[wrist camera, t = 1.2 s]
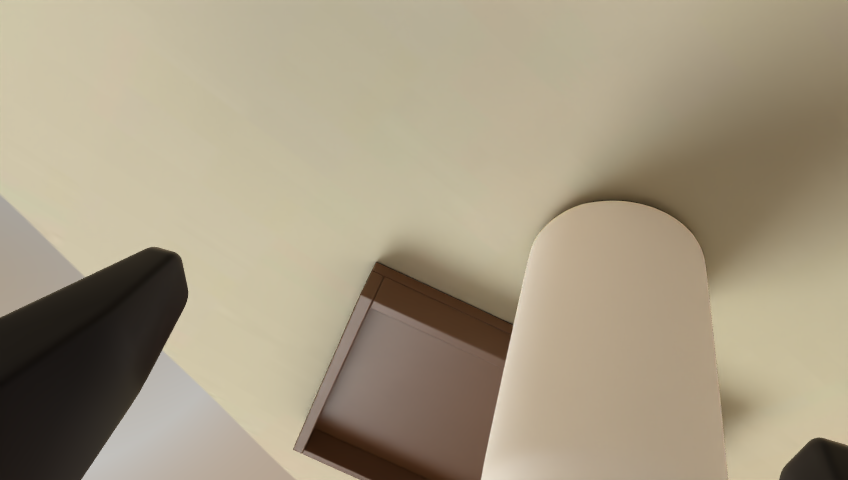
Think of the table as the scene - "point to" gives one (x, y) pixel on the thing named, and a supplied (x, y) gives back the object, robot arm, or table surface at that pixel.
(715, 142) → the table surface
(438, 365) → the tray
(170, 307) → the robot arm
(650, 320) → the can
